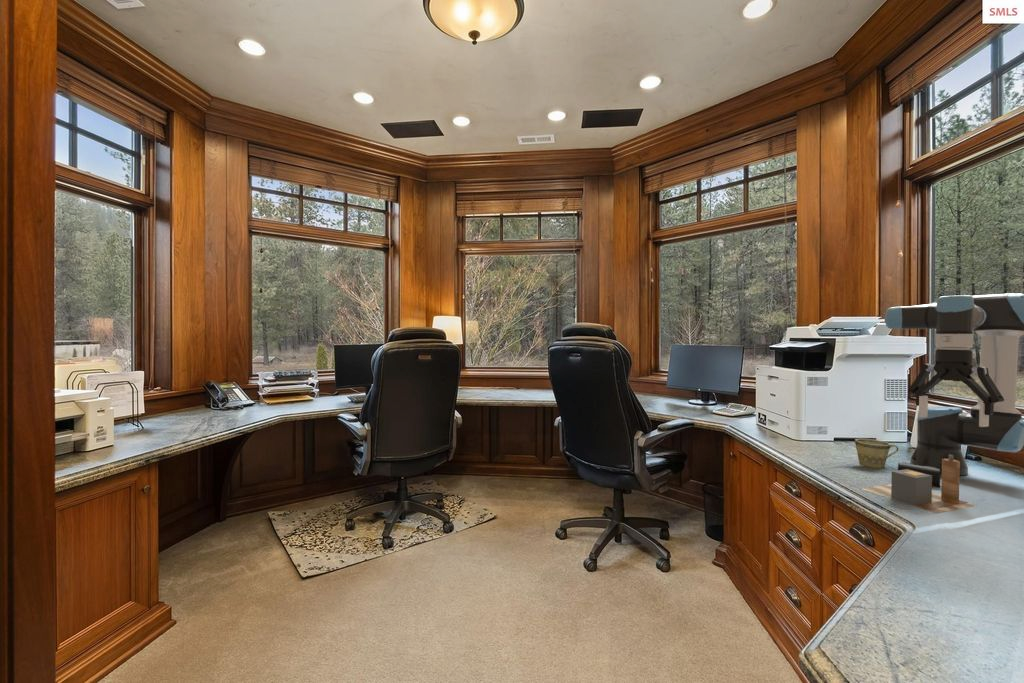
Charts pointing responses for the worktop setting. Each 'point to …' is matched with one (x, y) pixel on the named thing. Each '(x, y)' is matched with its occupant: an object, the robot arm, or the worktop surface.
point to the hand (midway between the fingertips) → (951, 421)
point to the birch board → (935, 506)
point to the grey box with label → (911, 487)
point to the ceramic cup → (873, 452)
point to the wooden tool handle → (950, 480)
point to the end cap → (923, 471)
